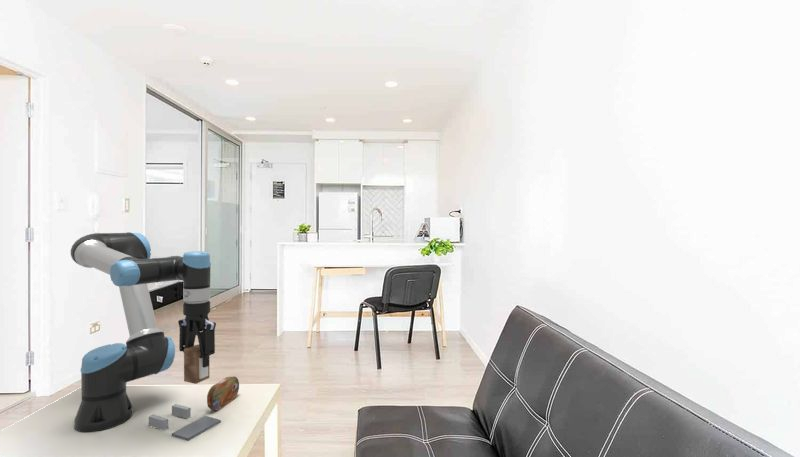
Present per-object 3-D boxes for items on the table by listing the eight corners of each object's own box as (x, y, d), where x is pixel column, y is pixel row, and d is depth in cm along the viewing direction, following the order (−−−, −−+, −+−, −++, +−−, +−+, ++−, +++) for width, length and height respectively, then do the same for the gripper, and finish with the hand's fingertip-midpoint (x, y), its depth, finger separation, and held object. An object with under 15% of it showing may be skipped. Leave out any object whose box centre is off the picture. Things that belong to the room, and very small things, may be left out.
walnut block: (184, 381, 122) (184, 348, 122) (197, 375, 127) (197, 344, 126) (195, 383, 120) (195, 351, 120) (209, 377, 125) (209, 346, 125)
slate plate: (171, 435, 119) (171, 433, 119) (204, 417, 130) (204, 415, 130) (188, 440, 117) (188, 438, 117) (220, 422, 128) (220, 419, 128)
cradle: (148, 425, 125) (148, 416, 125) (175, 412, 134) (175, 403, 134) (163, 430, 122) (163, 420, 122) (190, 416, 131) (190, 407, 131)
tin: (213, 414, 133) (213, 389, 133) (205, 413, 134) (205, 388, 134) (239, 395, 148) (240, 373, 148) (232, 394, 148) (232, 372, 148)
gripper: (165, 301, 123) (165, 375, 123) (208, 306, 116) (208, 384, 116) (186, 297, 130) (186, 367, 130) (228, 301, 123) (228, 375, 123)
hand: (196, 375), depth 123 cm, fingers closed on walnut block, 5 cm apart
